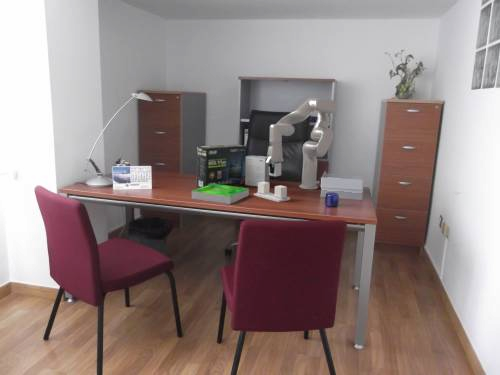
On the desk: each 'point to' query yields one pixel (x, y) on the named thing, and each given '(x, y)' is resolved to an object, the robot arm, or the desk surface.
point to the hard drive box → (256, 170)
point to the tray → (220, 193)
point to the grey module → (276, 169)
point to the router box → (220, 165)
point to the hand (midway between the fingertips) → (274, 172)
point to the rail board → (278, 196)
